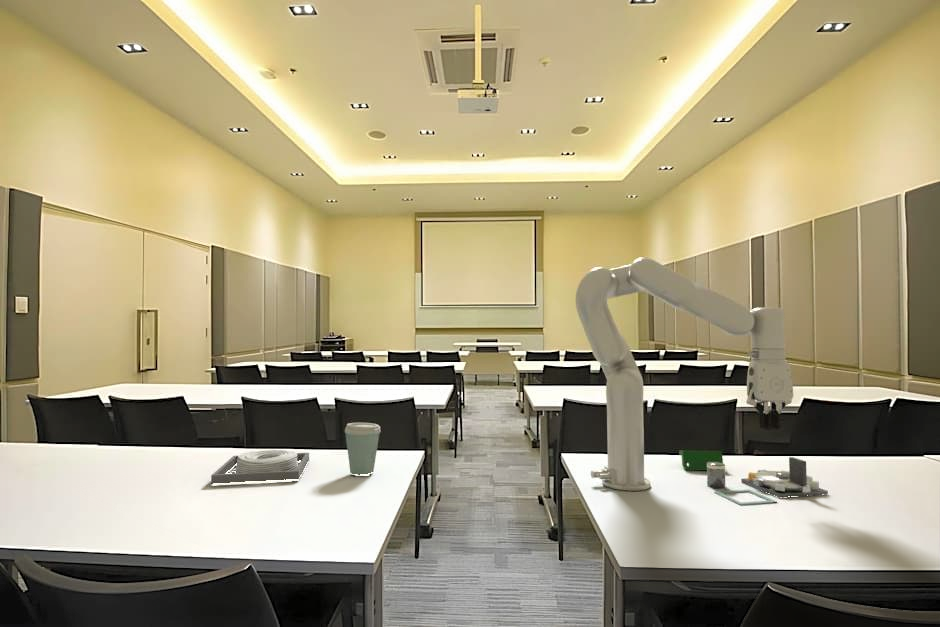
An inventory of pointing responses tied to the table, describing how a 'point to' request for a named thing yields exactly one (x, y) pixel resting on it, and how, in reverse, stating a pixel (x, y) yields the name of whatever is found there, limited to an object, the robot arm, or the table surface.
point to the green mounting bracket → (699, 458)
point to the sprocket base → (784, 493)
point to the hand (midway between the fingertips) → (769, 428)
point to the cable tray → (257, 476)
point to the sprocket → (786, 478)
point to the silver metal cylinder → (716, 475)
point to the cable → (266, 461)
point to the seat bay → (744, 502)
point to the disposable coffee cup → (362, 446)
